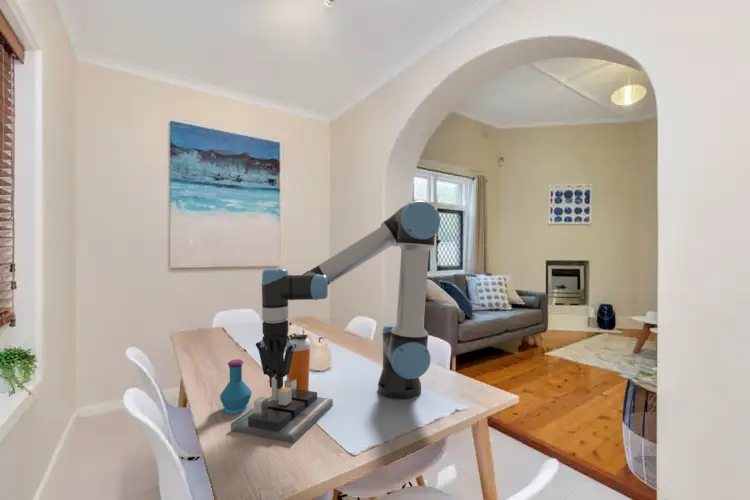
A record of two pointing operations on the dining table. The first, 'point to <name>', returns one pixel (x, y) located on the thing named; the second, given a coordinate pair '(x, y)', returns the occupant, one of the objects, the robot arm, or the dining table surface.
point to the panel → (288, 427)
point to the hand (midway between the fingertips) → (276, 398)
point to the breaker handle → (285, 396)
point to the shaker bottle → (300, 361)
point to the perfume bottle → (235, 390)
